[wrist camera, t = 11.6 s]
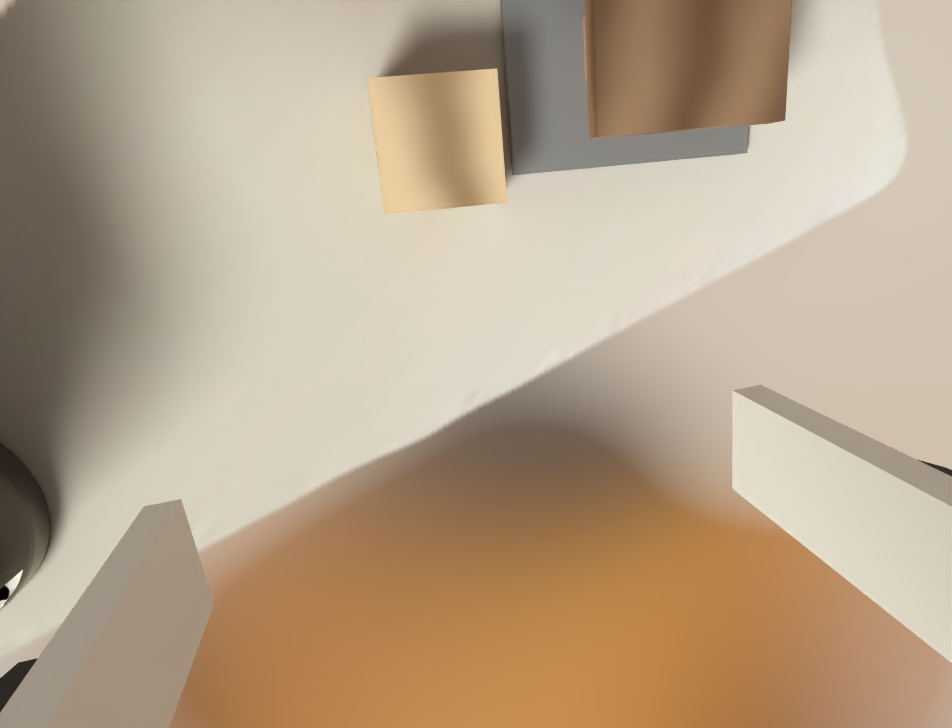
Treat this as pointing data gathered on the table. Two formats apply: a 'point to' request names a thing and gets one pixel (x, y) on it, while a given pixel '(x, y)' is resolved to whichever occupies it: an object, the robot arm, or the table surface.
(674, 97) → the board
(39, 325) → the table surface
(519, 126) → the placemat
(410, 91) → the light wooden block
